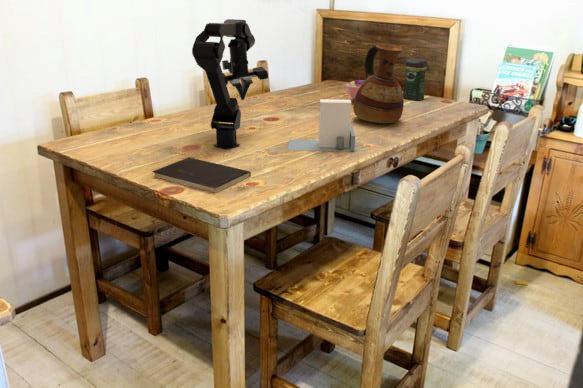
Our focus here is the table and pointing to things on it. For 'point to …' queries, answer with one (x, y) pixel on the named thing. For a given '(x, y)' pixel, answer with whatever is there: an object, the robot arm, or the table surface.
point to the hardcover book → (202, 174)
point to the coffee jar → (414, 79)
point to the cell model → (353, 87)
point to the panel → (334, 122)
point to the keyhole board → (315, 146)
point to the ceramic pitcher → (380, 88)
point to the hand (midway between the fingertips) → (242, 99)
